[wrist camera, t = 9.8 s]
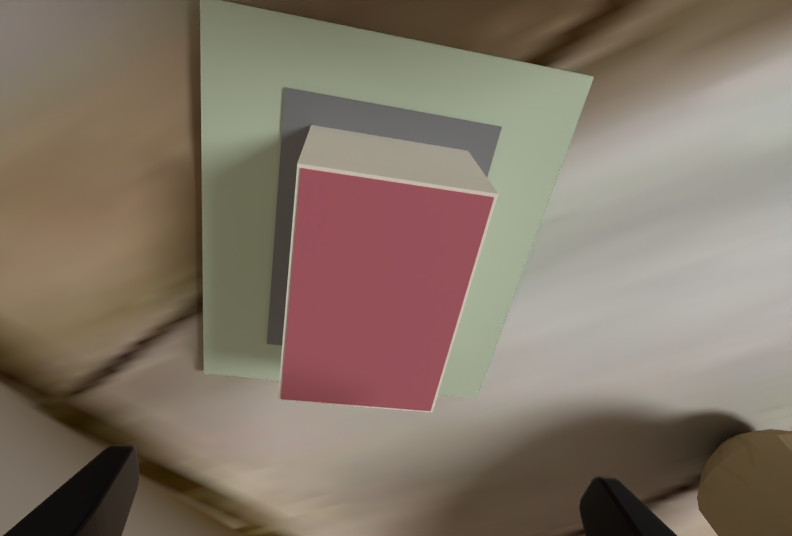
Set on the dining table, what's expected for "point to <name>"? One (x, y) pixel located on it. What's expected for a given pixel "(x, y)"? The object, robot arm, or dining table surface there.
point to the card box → (379, 268)
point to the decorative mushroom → (749, 485)
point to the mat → (370, 114)
